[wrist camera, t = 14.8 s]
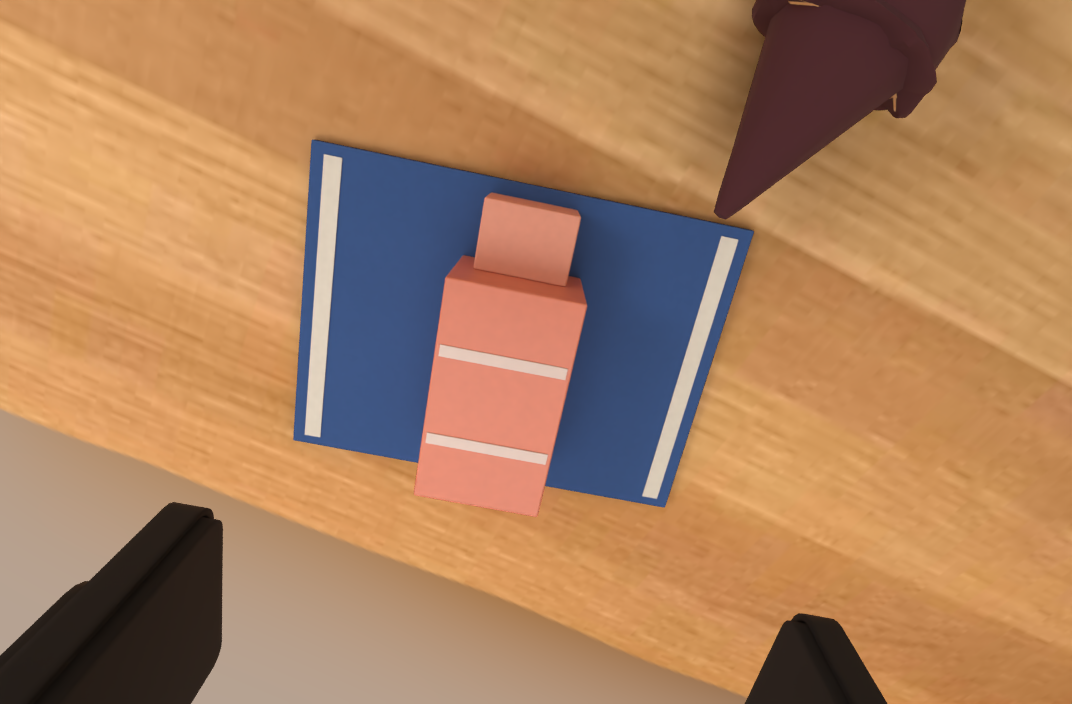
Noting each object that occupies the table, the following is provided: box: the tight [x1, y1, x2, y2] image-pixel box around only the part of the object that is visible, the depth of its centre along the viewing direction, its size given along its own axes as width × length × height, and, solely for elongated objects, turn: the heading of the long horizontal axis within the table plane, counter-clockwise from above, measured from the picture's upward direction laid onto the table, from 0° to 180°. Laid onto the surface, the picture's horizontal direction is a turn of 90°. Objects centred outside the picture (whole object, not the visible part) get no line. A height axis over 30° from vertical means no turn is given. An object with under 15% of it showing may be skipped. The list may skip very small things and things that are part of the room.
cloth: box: [293, 140, 754, 507], centre depth 28 cm, size 15×20×1 cm
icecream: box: [714, 0, 966, 219], centre depth 21 cm, size 7×7×15 cm
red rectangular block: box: [414, 193, 587, 517], centre depth 25 cm, size 13×6×5 cm, turn 169°
